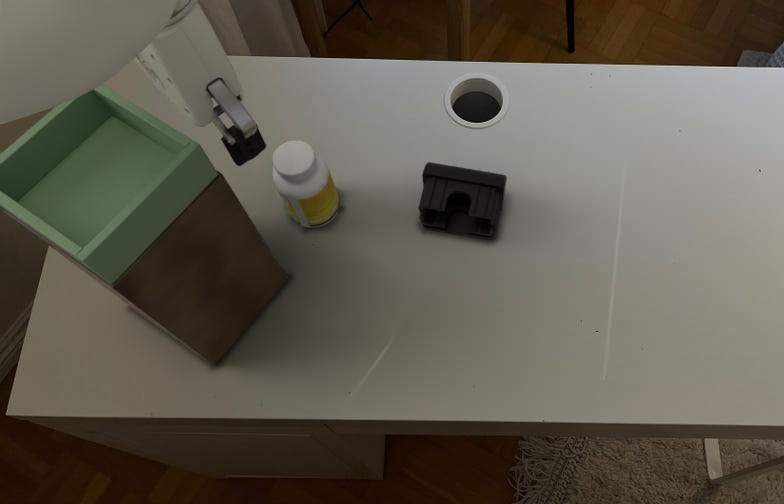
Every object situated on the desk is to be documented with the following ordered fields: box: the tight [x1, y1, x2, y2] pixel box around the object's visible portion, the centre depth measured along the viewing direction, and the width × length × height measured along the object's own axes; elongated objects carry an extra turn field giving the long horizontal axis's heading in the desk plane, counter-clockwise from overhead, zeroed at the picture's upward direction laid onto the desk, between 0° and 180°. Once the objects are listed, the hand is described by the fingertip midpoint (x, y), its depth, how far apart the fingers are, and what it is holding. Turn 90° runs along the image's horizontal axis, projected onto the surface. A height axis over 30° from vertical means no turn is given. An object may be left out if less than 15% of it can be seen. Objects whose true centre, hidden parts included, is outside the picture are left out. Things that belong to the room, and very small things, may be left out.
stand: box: [2, 170, 289, 367], centre depth 67 cm, size 13×13×24 cm
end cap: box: [417, 161, 508, 241], centre depth 81 cm, size 10×7×7 cm
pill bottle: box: [272, 139, 340, 229], centre depth 78 cm, size 6×6×12 cm
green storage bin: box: [0, 83, 218, 284], centre depth 54 cm, size 13×13×5 cm
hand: (220, 123), depth 61 cm, fingers open, 9 cm apart
